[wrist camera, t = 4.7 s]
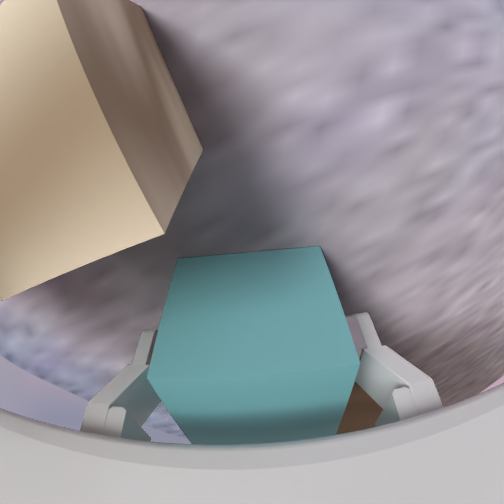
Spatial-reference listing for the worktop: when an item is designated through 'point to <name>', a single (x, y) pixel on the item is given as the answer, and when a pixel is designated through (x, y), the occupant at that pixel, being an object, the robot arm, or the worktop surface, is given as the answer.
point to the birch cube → (84, 137)
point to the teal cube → (254, 348)
